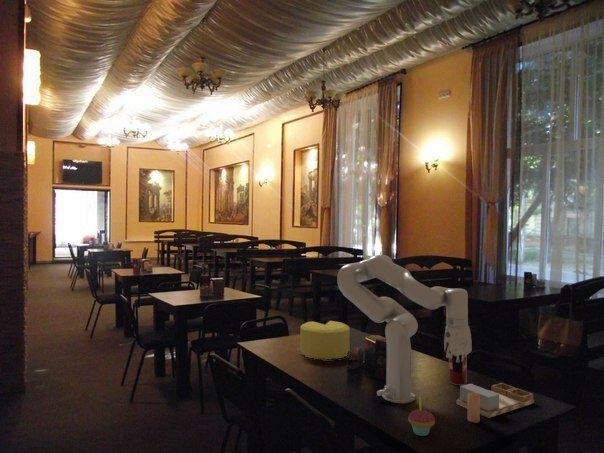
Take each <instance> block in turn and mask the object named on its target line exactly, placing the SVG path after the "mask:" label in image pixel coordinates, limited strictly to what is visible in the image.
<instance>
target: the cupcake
mask: <svg viewBox="0 0 604 453" xmlns="http://www.w3.org/2000/svg"><path fill="white" fill-rule="evenodd" d="M418 395H419V396H418V402H419V405H418V407H419V408H416V409H414V410H412V411H411V412H409V413H408V418H407V420H408V422H409V423H410V424H411V427H412V430H413V434H414V435H417V436H421V437H424V436H428V435H429V433H430V431H431V428H432V427H433V426H435V423H436V418H435V416H434V415H433V413H431V412H429V411H428V410H425V409H422V396H421V393H419V394H418Z"/></svg>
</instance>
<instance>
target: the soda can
mask: <svg viewBox="0 0 604 453" xmlns="http://www.w3.org/2000/svg"><path fill="white" fill-rule="evenodd" d="M467 358H468V357H467V355H466V356H465V357H464V361H463V362H462V364H463V373H460V374H458V373H455V372H453V361H451V359H450V358H448V382H449V383H450V384H451V385H455V386H463V385H467V384H468V383H467V382H468V379H467V377H468V376H467V369H468V366H467V365H468V364H467V363H468V362H467V361H468V359H467Z"/></svg>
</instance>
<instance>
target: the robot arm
mask: <svg viewBox="0 0 604 453" xmlns="http://www.w3.org/2000/svg"><path fill="white" fill-rule="evenodd" d="M375 278H376V279H377V280H380V281H382V282H384V283H385V284H388V285H389V286H391V287H393V288H395V289H396V290H398V291H399V292H400V293H401V294H402V295H404V296H405V297H406V298H407V299H408V300H410V301H411V302H413V303H415V304H418V305H419V306H422V307H423V308H425V309H427V310H428V309H429V310H437V309H438V308H441V307H444V306H445V310H446V311H445V313H446V314H445V316H446V318H445V320H446V321H445V323H446V325H445V328H444V329H445V331H444V336H443V338H444V339H443V342H444V343H443V345H444V346H443V348H444V353H446V354H445V358H447V359H449V358H450V359H451V361H453V372H455V373H458V374H460V373H463V364H462V362H463V361H464V357H465V356H466V357H467V355H468V354H470V353H471V352H472V349H473V347H472V343H473V342H472V334H471V329H470V326H469V311H468V310H469V308H468V307H469V306H468V304H469V303H468V302H469V299H468V298H469V297H468V295H469V294H468V291H467V290H466V289H464V288H453V287H452V288H449V287H445V286H444V287H443V286H440V285H439V286H436V285H435V286H433V287H429V286H426V285H425V284H424V283H421V282H419V281H418V280H417V279H415V278H414V277H413V275H412V274H411V272H410V271H409V270H408V269H406V268H404V267H402V266H401V265H398V264H396V263H394V260H393V259H392V258H391V257H390V256H389V255H386V254H378V255H373V256H371V257H370V258H368V259H366V260H362V261H358V262H353V263H348V264H345V265H343V266H342V267H341V268H340V269H339V270H338V273H337V278H336V280H337V285H338V286H337V287H338V289H339V291H340V292H341V294H342V295H343V296H344V297H345V298H346V299H347V300H349V301H350V302H351V303H352V304H353V305H355V306H356V307H357V308H358V310H360V311H361V312H362V313H364V314H365V316H367V317H368V318H369V319H370V320H371V321H373V322H374V323H376V324H379V323H380V324H381V323H383V322H386V324H385V325H386V326H385V329H384V335H385V343H386V373H385V374H386V382H385V383H386V384H385V385H384V387H383V388H382V389H379V390H376V396H378V397H381V396H382V398H383V399H384V400H386V401H389V402H391V403H395V404H408V403H413V402H414V401H415V400H416V395H415V393H413V392H412V345H411V337H412V336H414V335H415V334H416V333H417V331H418V328H419V325H418V321H417V319H416V318H415V316H414V315H413V314H412V313H410V312H409V311H408V310H407V309H406V308H405V307H403V305H401V304H400V303H398V302H397V301H396V300H395V299H393V298H391V297H388V296H380V297H379V296H378V295H376V294H374V293H373V292H372V291H370V289H369V288H368V287H366V286H364V285H362V284H361V283H362V282H363V283H364V282H367V281H369V280H373V279H375Z"/></svg>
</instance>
